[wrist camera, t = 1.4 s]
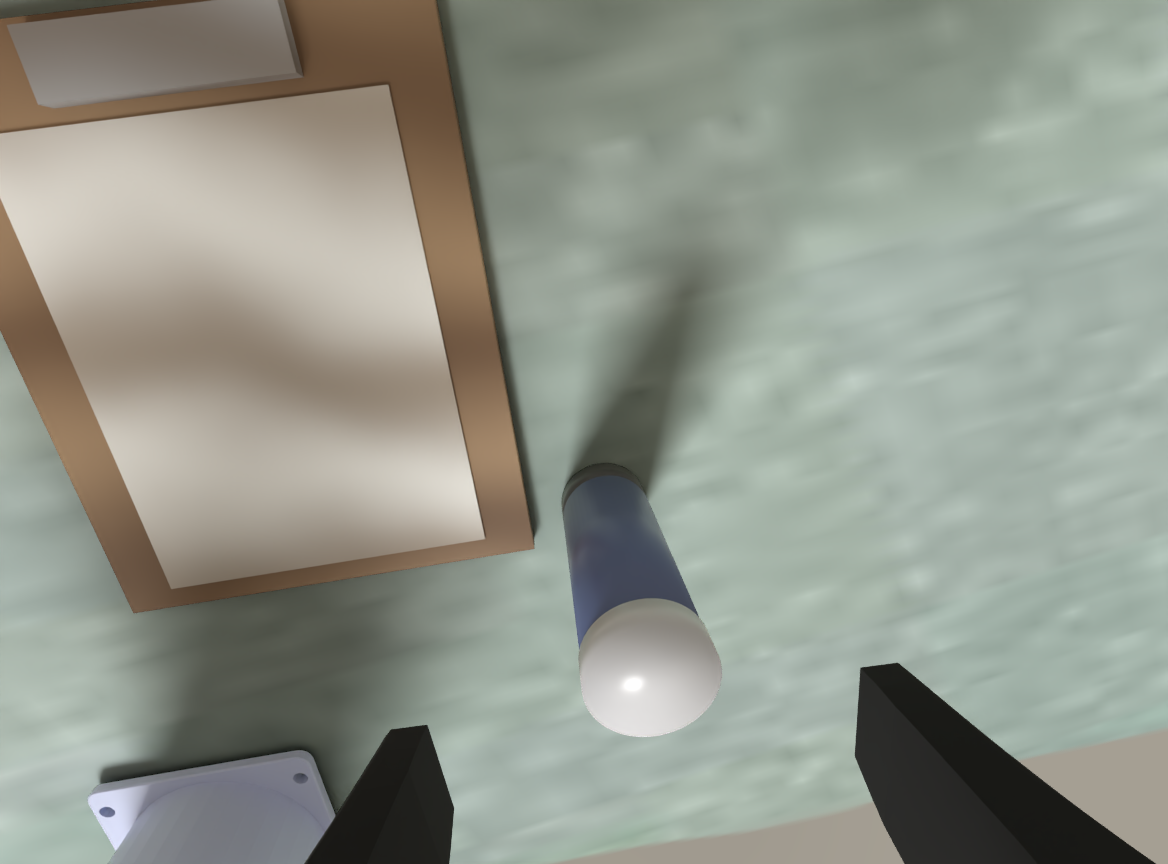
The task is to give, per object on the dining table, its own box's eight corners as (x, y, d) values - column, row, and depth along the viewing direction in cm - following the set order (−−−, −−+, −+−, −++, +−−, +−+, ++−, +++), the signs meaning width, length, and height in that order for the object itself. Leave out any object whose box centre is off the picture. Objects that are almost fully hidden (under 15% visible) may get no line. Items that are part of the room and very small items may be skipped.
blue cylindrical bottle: (649, 532, 20) (725, 724, 13) (566, 545, 20) (591, 747, 12) (641, 455, 19) (718, 611, 12) (554, 468, 19) (572, 635, 11)
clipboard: (534, 539, 20) (534, 556, 19) (145, 601, 19) (123, 622, 18) (432, -23, 15) (425, -41, 14) (-113, 42, 14) (-163, 28, 13)
